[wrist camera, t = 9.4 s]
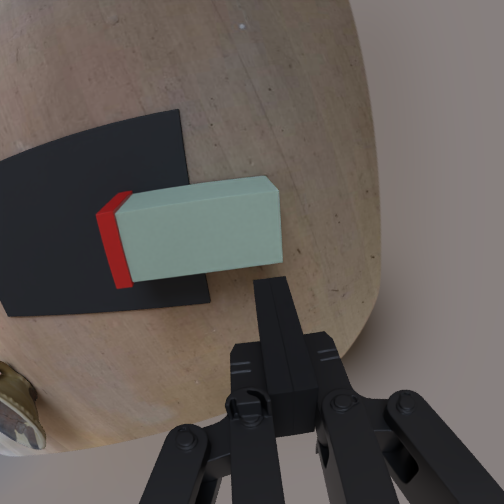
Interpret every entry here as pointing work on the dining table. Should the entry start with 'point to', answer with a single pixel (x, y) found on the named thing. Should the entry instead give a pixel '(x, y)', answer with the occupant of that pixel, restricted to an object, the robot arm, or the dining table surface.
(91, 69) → the dining table surface
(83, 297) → the mat
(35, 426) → the bowl
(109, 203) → the container
